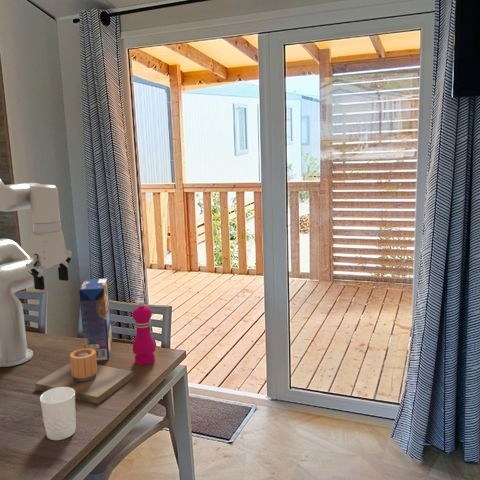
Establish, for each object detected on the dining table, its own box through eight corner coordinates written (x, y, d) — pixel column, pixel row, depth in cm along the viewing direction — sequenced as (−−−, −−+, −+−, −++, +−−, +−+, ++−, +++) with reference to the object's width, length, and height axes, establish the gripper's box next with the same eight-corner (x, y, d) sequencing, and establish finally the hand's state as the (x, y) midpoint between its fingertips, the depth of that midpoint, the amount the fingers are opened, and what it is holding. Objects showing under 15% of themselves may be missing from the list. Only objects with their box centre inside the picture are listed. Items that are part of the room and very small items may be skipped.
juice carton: (109, 359, 158) (103, 288, 154) (85, 361, 157) (79, 289, 152) (112, 344, 170) (107, 278, 165) (90, 346, 169) (84, 279, 164)
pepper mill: (151, 366, 152) (147, 305, 149) (129, 365, 154) (125, 304, 150) (159, 356, 159) (156, 298, 155) (138, 355, 161) (135, 297, 157)
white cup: (49, 424, 122) (45, 387, 120) (81, 422, 123) (78, 385, 121) (39, 443, 114) (35, 404, 112) (73, 441, 115) (70, 402, 113)
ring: (66, 375, 140) (64, 356, 139) (82, 365, 146) (81, 346, 145) (86, 379, 137) (84, 359, 136) (102, 369, 144) (100, 350, 142)
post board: (35, 389, 139) (32, 360, 138) (74, 366, 154) (71, 339, 152) (98, 403, 131) (95, 372, 129) (132, 377, 146) (131, 349, 144)
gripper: (58, 222, 150) (62, 275, 153) (13, 232, 134) (19, 291, 138) (77, 223, 147) (82, 278, 151) (34, 233, 131) (39, 294, 135)
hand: (52, 284), depth 144 cm, fingers open, 9 cm apart
